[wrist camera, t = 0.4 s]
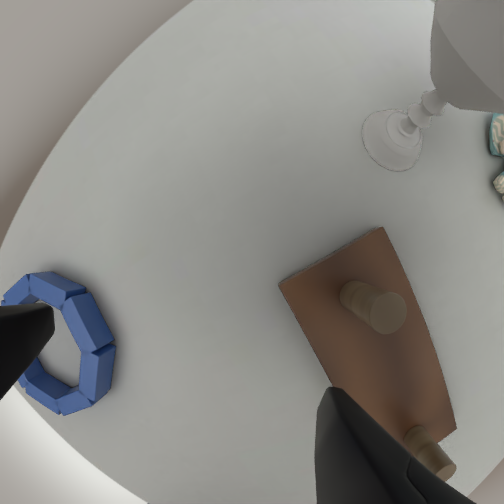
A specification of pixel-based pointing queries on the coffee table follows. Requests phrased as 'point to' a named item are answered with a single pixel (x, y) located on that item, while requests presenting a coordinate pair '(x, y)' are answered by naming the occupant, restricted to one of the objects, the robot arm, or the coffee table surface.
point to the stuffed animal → (497, 146)
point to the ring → (85, 334)
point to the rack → (376, 343)
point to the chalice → (446, 79)
